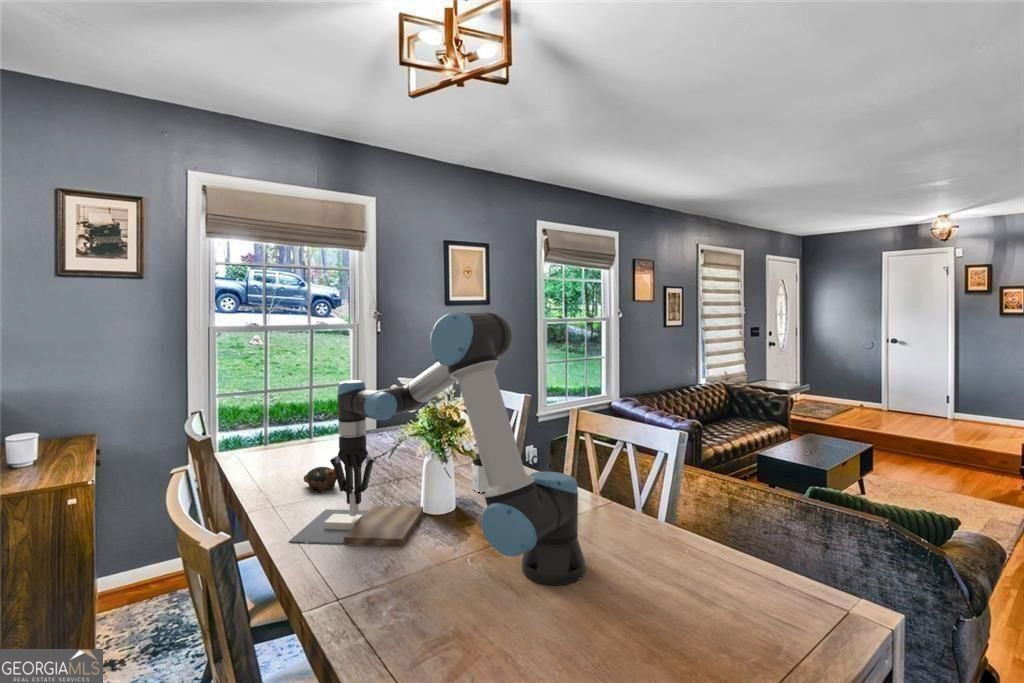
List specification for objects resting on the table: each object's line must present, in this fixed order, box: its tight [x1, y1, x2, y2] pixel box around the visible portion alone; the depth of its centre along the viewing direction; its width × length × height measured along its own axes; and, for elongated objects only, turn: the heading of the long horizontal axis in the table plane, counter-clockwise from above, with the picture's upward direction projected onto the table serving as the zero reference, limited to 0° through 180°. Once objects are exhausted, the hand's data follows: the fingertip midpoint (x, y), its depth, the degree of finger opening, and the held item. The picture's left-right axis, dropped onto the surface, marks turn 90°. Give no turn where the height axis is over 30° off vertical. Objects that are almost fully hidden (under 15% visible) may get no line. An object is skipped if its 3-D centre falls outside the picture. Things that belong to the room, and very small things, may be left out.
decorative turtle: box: [303, 466, 337, 493], centre depth 176 cm, size 10×15×8 cm, turn 71°
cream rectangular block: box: [324, 514, 363, 530], centre depth 144 cm, size 9×6×2 cm, turn 85°
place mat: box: [288, 508, 370, 545], centre depth 145 cm, size 15×22×1 cm
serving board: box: [343, 505, 424, 547], centre depth 143 cm, size 16×22×2 cm
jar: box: [471, 452, 488, 492], centre depth 174 cm, size 9×8×12 cm
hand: (354, 514), depth 144 cm, fingers closed
